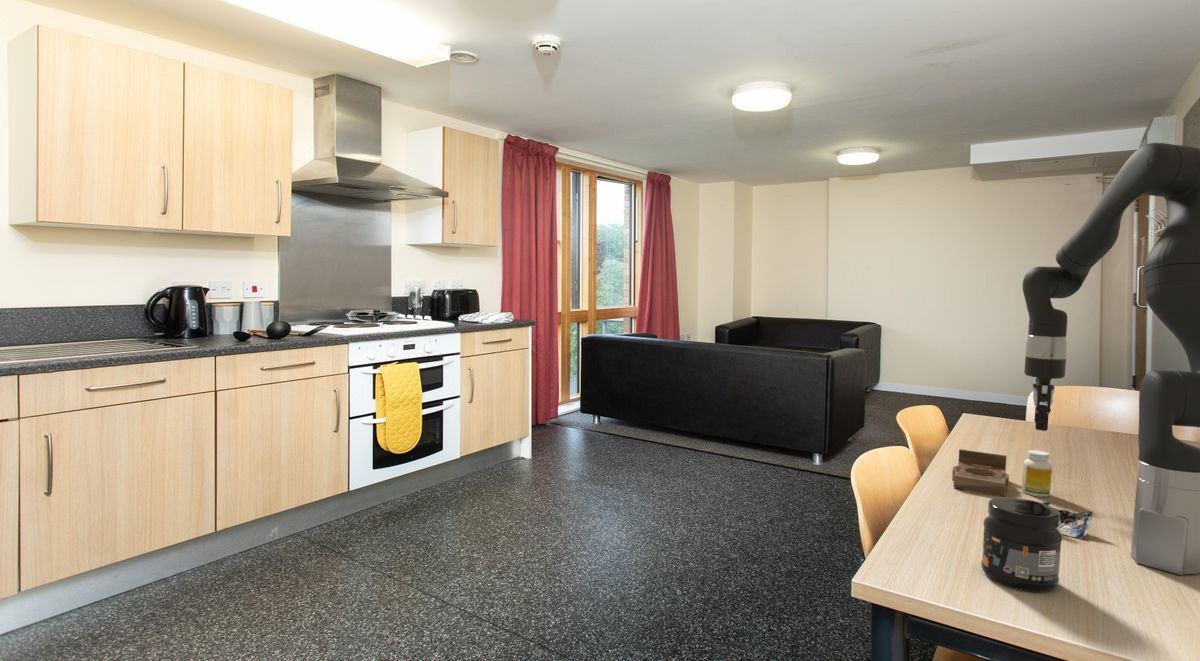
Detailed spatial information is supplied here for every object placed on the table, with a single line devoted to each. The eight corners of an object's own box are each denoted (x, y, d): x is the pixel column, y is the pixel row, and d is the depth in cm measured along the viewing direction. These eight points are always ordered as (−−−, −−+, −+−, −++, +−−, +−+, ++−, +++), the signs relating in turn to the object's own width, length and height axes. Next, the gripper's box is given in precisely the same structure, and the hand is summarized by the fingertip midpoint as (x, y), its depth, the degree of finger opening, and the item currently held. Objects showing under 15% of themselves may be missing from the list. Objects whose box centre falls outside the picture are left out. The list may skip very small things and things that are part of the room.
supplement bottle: (1016, 489, 147) (1019, 448, 147) (1041, 490, 147) (1043, 449, 146) (1030, 496, 142) (1033, 455, 141) (1055, 498, 141) (1058, 456, 141)
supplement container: (989, 558, 109) (993, 491, 108) (1063, 579, 102) (1069, 506, 101) (973, 578, 102) (977, 506, 101) (1052, 602, 95) (1058, 524, 94)
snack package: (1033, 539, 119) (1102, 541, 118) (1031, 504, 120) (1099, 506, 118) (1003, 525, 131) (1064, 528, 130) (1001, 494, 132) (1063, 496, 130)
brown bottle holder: (1007, 497, 141) (1009, 471, 141) (950, 487, 148) (951, 462, 147) (1008, 480, 154) (1009, 456, 154) (955, 471, 160) (956, 448, 160)
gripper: (1068, 360, 134) (1063, 435, 135) (1064, 354, 146) (1059, 423, 147) (1025, 357, 138) (1021, 430, 139) (1025, 351, 150) (1020, 418, 151)
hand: (1040, 426), depth 143 cm, fingers open, 8 cm apart
